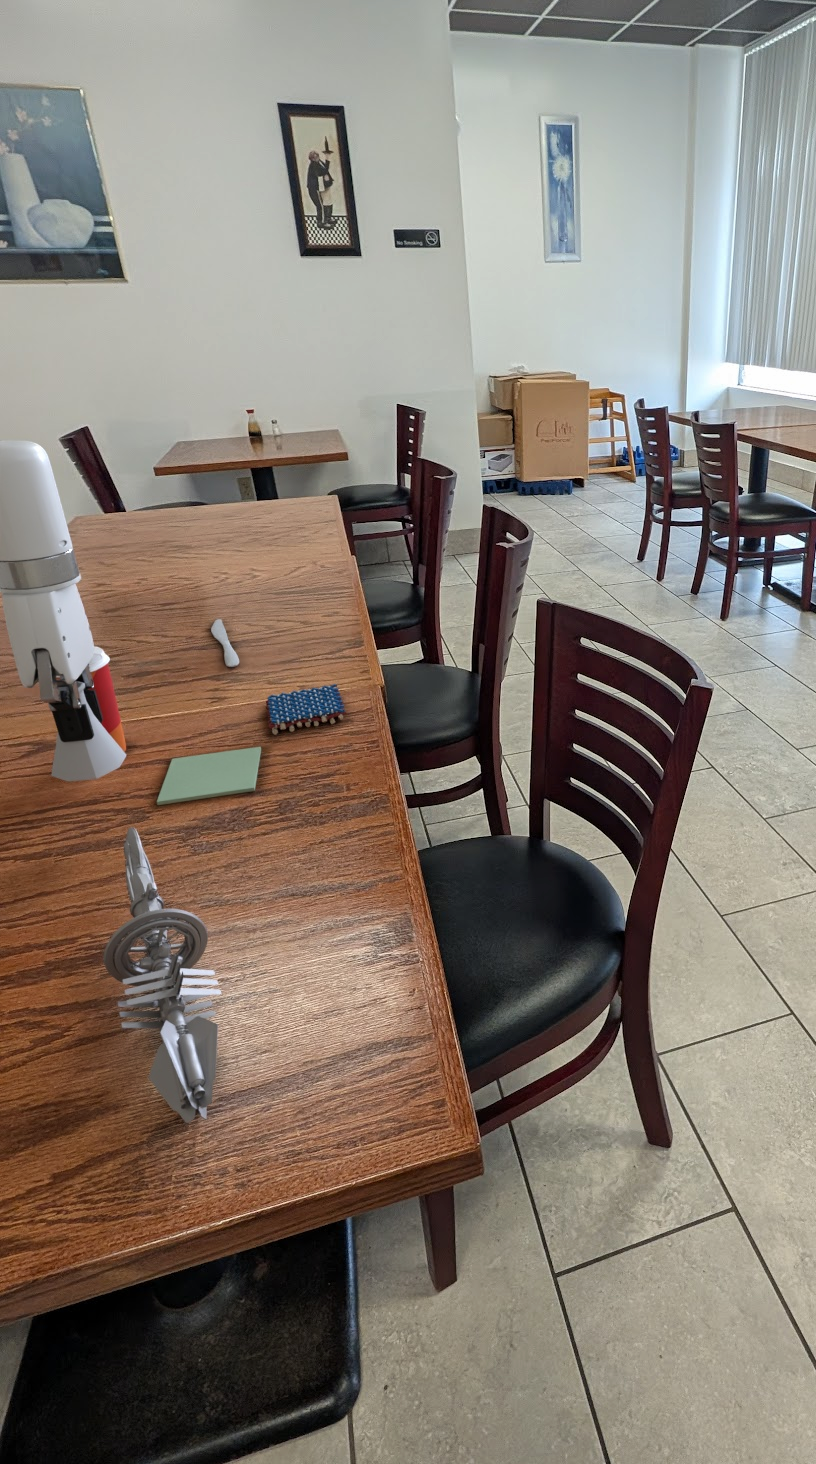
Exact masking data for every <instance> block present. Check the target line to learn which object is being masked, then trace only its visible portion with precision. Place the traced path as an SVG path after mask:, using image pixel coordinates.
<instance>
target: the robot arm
mask: <svg viewBox="0 0 816 1464" xmlns="http://www.w3.org/2000/svg"><path fill="white" fill-rule="evenodd" d="M54 475H55V474H54V471H53V467H52V464H51V461H50V458H49V455H48V453H47V451H46V450H45V448H43V447H42V446H41V445H40V444H38V443H36V442H34V441H30V440H23V439H22V440H21V439H1V440H0V594H2V595H1V599H2V607H3V608H2V609H3V614H4V621H5V625H6V629H7V634H8V640H9V643H10V646H11V651H12V654H13V658H14V662H15V665H16V666H15V667H16V670H17V673H18V677H19V680H20V683H21V685H22V686H23V687H25V688H26V689H33V688H34V687H35V685H37V683H38V687H39V688H38V689H39V697H40V700H41V702H42V703H43V702H44V703H47V705H48V708H49V711H51V713H52V714H51V715H52V717H53V720H54V723H55V726H56V730H57V732H58V733H59V736H60V740H61V741H62V742H73V741H82V740H90V739H92V738H93V737H94V732H93V728H92V725H91V721H90V718H89V714H88V711H87V707H86V704H81V699H80V695H79V691H78V687H77V682H76V681H78V682H82V683H85V688H84V689H83V691H84V695H85V698H86V701H87V703H88V705H89V707H90V709H91V710H92V712H93V714H94V716H95V717H96V718H97V719H98V721H99V722H100V723H101V722H102V721H103V716H102V713H101V709H100V706H99V702H98V698H97V695H96V691H95V689H92V688H94V682H93V679H92V675H91V672H90V669H89V668H90V667H89V666H88V665H89V662H90V660H91V659H92V657H93V654H94V646H95V645H94V639H93V634H92V631H91V630H92V629H91V627H90V624H89V623H90V622H89V620H88V616H87V613H86V610H85V607H84V604H83V601H82V598H81V595H80V592H79V589H78V587H77V584H78V583H79V582H80V581H81V580H82V574H81V572H80V568H79V564H78V561H77V557H76V553H75V549H74V546H73V541H72V538H71V534H70V531H69V528H68V527H69V526H68V523H67V520H66V516H65V511H64V508H63V506H62V501H61V497H60V493H59V489H58V486H57V483H56V482H57V481H56V478H55V476H54ZM56 676H60V679H58V680H56ZM58 687H68V689H69V693H70V694H69V693H68V692H67V691H65V690H63V691H61V690H59V689H58ZM89 689H92V690H89Z"/></svg>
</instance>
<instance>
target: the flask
mask: <svg viewBox="0 0 816 1464" xmlns="http://www.w3.org/2000/svg"><path fill="white" fill-rule="evenodd" d="M76 682H77V687H78V691H79V695H80V699H81V704H86V707H87V711H88V714H89V718H90V721H91V725H92V728H93V732H94V737H93V738H92V739H90V740H82V741H73V742H62V741H61V740H60V736H59V733H58V731H56V732H57V733H56V742H55V749H54V755H53V762H52V767H51V777H53V778H57V779H59V780H62V781H66V782H79V781H80V782H81V781H89V780H90V781H91V780H98V779H100V778H102V777H103V776H105V775H107V774H109V773H111V772H113V771H115V770H117V769H119V768H121V765H122V764H123V762H124V761H125V759H126V757H127V755H128V754H127V753H126V751H125V752H124V751H123V750H122V749H121V747H120V746H119V745H118V744H117V743H116V742H115V740H114V739H113V738H112V737H111V736H110V735H109V733H108V732H107V731H106V730H105V728H104V727H103V726H102V724H101V723H100V722H99V721H98V719H97V718H96V717H95V716H94V714H93V712H92V710H91V709H90V707H89V705H88V703H87V701H86V698H85V695H84V691H83V689H84V688H85V683H82V682H78V681H76ZM58 689H59V690H61V691H63V690H65V691H67V692H68V693H69V689H68V687H58ZM69 694H70V693H69Z"/></svg>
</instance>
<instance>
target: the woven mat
mask: <svg viewBox="0 0 816 1464" xmlns="http://www.w3.org/2000/svg"><path fill="white" fill-rule="evenodd" d="M339 689H340V688H338V683H337V684H336V683H335V684H332V685H329V684H328V685H323V686H320V687H319V688H317V687H312V688H308V689H301V690H292V691H289V692H288V693H285V692H281V694H279V693H278V694H271V695H269V696H268V697H267V700H265V704H266V706H265V709H266V714H267V718H268V719H267V720H268V721H267V723H268V727H269V729H271V731H272V734H273V735H275V736H276V735H278V734H279V730H278V729H280V730H282V731H284V730H287V728H288V730H289V732H292V733H293V732H295V726H294V725H296V726H297V727H298V729H299V728H302V727H303V723H304V724H305V727H306V728H310V727H311V723H312V722H313V726H314V727H319V724H320V723H319V722H321V723H327V722H328V720H329V722H330V724H331V725H335V723H336V720H335V718H336V717H337V719H338V720H340V721H342V720H343V719H344V715H347V712H346V709H345V705H344V704H343V703H344V701H343V700H342V696H341V692H340V691H339Z"/></svg>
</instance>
